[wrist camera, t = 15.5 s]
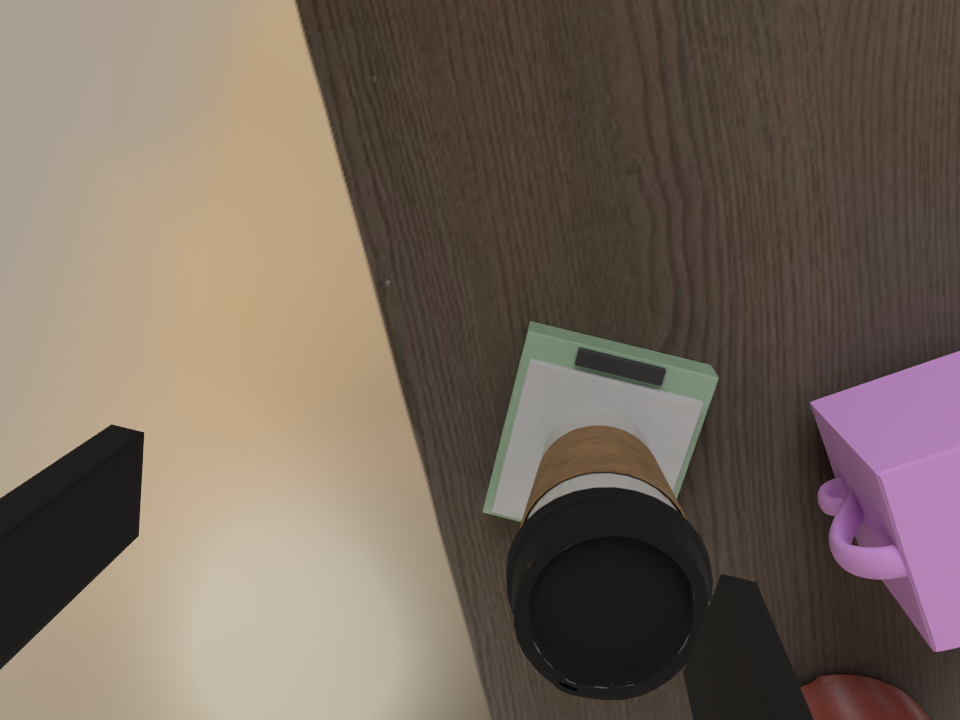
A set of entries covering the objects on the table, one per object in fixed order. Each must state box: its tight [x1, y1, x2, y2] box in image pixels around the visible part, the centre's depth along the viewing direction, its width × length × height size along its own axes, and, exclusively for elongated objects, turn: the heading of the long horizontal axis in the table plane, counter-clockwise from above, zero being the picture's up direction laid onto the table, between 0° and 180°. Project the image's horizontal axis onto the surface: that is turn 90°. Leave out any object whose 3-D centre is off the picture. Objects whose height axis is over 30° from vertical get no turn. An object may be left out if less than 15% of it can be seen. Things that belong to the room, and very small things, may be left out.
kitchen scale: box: [483, 321, 719, 522], centre depth 42 cm, size 11×12×3 cm
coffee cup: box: [506, 406, 713, 700], centre depth 34 cm, size 8×8×15 cm
